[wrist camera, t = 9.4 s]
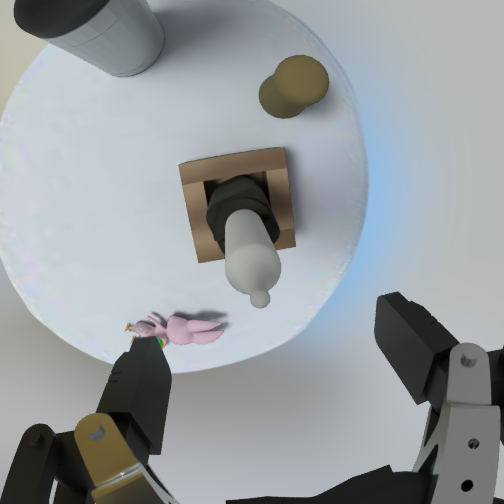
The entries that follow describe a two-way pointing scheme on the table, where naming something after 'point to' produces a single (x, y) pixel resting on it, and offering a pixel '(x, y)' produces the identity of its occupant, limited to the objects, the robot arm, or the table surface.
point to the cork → (293, 86)
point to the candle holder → (226, 167)
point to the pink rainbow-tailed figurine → (178, 331)
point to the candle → (246, 237)
